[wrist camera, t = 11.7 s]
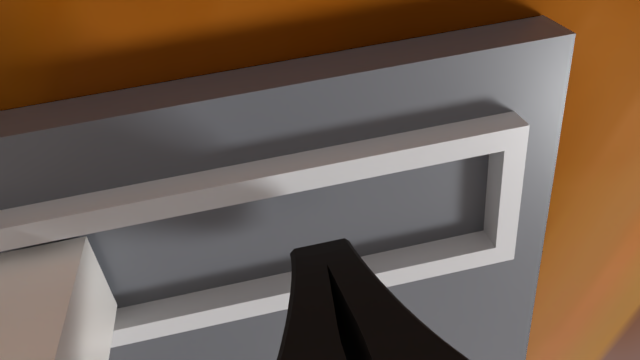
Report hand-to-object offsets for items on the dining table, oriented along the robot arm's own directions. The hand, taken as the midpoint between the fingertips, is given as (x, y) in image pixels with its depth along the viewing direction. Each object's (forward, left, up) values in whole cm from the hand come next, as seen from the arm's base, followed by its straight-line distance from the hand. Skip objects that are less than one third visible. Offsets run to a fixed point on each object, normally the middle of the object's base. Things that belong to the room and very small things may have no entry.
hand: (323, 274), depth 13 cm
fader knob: (0, +6, -2) cm, 7 cm away
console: (-4, +4, -4) cm, 7 cm away
